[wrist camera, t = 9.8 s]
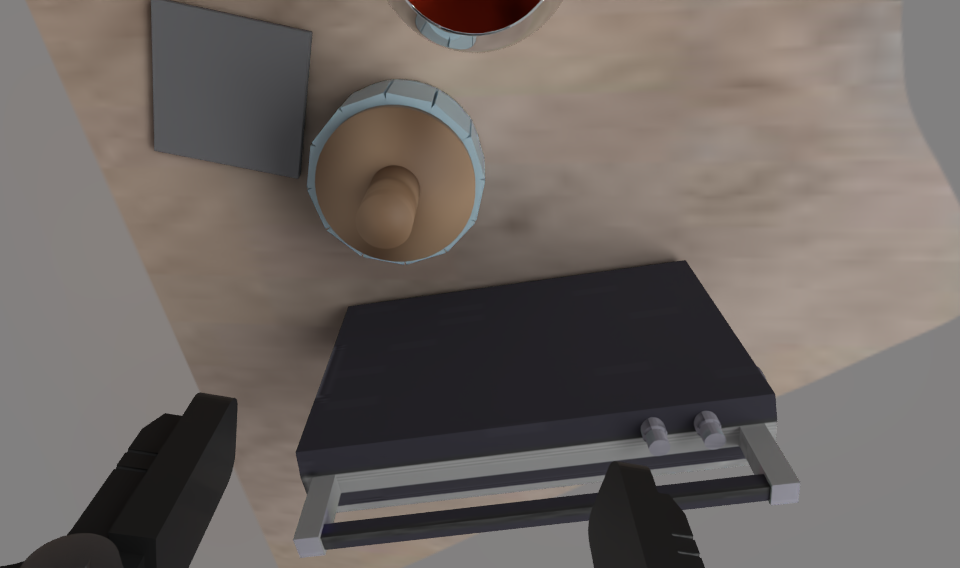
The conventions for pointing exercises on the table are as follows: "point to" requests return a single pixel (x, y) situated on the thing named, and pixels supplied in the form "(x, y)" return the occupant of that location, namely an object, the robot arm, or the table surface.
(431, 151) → the lid
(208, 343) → the table surface
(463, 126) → the bowl
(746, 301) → the table surface
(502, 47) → the wineglass
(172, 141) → the mat
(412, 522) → the radio
